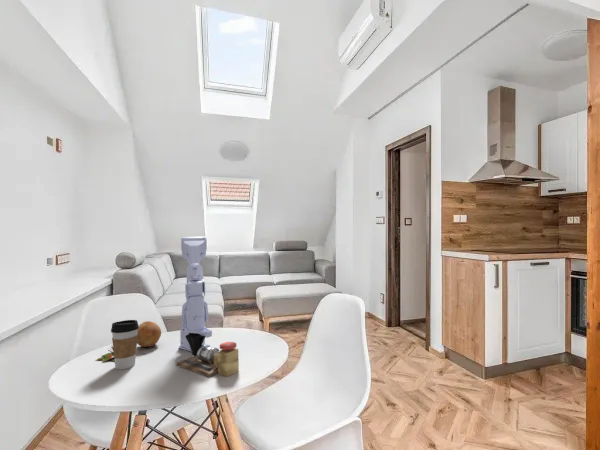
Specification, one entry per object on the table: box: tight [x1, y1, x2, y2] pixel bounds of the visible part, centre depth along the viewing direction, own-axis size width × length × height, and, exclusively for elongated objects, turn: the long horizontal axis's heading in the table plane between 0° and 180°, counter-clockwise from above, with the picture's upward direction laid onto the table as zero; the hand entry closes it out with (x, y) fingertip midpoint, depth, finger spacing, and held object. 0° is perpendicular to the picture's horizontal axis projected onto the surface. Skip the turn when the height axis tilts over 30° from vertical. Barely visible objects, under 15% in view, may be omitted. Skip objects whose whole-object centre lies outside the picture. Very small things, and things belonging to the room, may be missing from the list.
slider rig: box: [175, 341, 240, 378], centre depth 106 cm, size 22×11×9 cm, turn 55°
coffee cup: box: [110, 319, 140, 370], centre depth 108 cm, size 8×8×15 cm
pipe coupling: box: [197, 345, 221, 364], centre depth 108 cm, size 6×5×5 cm
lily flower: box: [96, 345, 115, 363], centre depth 117 cm, size 12×12×5 cm
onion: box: [137, 320, 162, 348], centre depth 128 cm, size 10×10×10 cm
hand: (196, 354), depth 110 cm, fingers closed
